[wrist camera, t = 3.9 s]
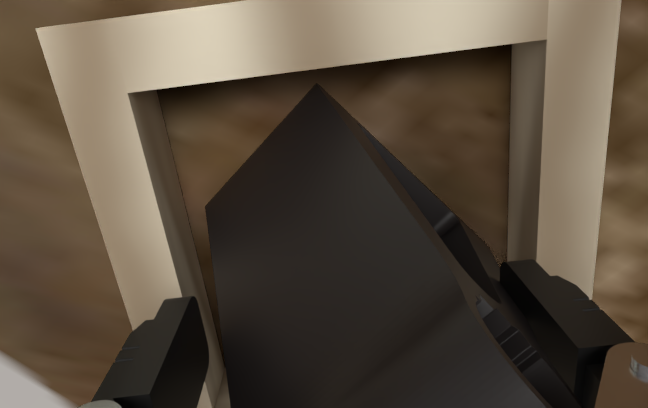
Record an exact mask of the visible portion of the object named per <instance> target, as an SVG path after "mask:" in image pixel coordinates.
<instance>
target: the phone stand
mask: <svg viewBox="0 0 648 408" xmlns="http://www.w3.org/2000/svg"><path fill="white" fill-rule="evenodd" d="M205 209H206V217H207V225H208V233H209V241H210V248H211V256H212V264H213V272H214V280H215V288H216V296H217V304H218V312H219V320H220V327H221V335H222V343H223V351H224V359H225V367H226V375H227V383H228V391H229V399H230V406H231V408H584V406H583V405H582V404H581V402H580V401H579V400H578V398H577V397H576V396H575V394H574V393H573V392H572V390H571V389H570V388H569V386H568V385H567V384H566V382H565V381H564V380H563V378H562V377H561V375H560V374H559V373H558V371H557V370H556V368H555V367H554V365H553V364H552V363H551V361H550V360H549V358H548V357H547V355H546V354H545V352H544V350H543V349H542V347H541V346H540V344H539V342H538V340H537V339H536V337H535V335H534V333H533V331H532V329H531V327H530V325H529V323H528V321H527V319H526V318H525V316H524V315H523V313H522V312H521V310H520V309H519V308H518V306H517V305H516V304H515V302H514V301H513V299H512V298H511V297H510V295H509V294H508V293H507V291H506V290H505V288H504V287H503V286H502V284H501V283H500V268H499V266H498V264H497V262H496V260H495V258H494V256H493V254H492V252H491V250H490V249H489V247H488V246H487V245H486V244H485V242H484V241H483V240H482V239H481V238H480V237H479V236H478V235H476V234H475V233H474V232H473V231H472V230H471V229H470V228H469V227H468V226H467V225H466V224H465V223H464V222H463V221H462V220H461V219H460V218H459V217H458V216H457V215H455V214H454V213H453V212H452V211H451V210H450V209H449V208H448V207H447V206H446V205H445V204H444V203H443V202H442V201H441V200H440V199H439V198H438V197H437V196H436V195H434V194H433V193H432V192H431V191H430V190H429V189H428V188H427V187H426V186H425V185H424V184H423V183H422V182H421V181H420V180H419V179H418V178H417V177H416V176H414V175H413V174H412V173H411V172H410V171H409V170H408V169H407V168H406V167H405V166H404V165H403V164H402V163H401V162H400V161H399V160H398V159H397V158H396V157H395V156H393V155H392V154H391V153H390V152H389V151H388V150H387V149H386V148H385V147H384V146H383V145H382V144H381V143H380V142H379V141H378V140H377V139H376V138H375V137H374V136H372V135H371V134H370V133H369V132H368V131H367V130H366V129H365V128H364V127H363V126H362V125H361V124H360V123H359V122H358V121H357V120H356V119H355V118H354V117H352V116H351V115H350V114H349V113H348V112H347V111H346V110H345V109H344V108H343V107H342V106H341V105H340V104H339V103H338V102H337V101H336V100H335V99H334V98H333V97H331V96H330V95H329V94H328V93H327V92H326V91H325V90H324V89H323V88H322V87H321V86H320V85H318V84H317V83H316V84H315V85H314V87H313V88H312V89H311V90H310V91H309V92H308V93H307V94H306V95H305V97H304V98H303V99H302V100H301V101H300V102H299V103H298V104H297V105H296V106H295V108H294V109H293V110H292V111H291V112H290V113H289V114H288V115H287V116H286V118H285V119H284V120H283V121H282V122H281V123H280V124H279V125H278V126H277V127H276V129H275V130H274V131H273V132H272V133H271V134H270V135H269V136H268V137H267V139H266V140H265V141H264V142H263V143H262V144H261V145H260V146H259V147H258V148H257V150H256V151H255V152H254V153H253V154H252V155H251V156H250V157H249V158H248V160H247V161H246V162H245V163H244V164H243V165H242V166H241V167H240V168H239V169H238V171H237V172H236V173H235V174H234V175H233V176H232V177H231V178H230V179H229V181H228V182H227V183H226V184H225V185H224V186H223V187H222V188H221V189H220V190H219V192H218V193H217V194H216V195H215V196H214V197H213V198H212V199H211V200H210V202H209V203H208V204H207V205H206V206H205Z"/></svg>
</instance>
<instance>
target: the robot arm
mask: <svg viewBox="0 0 648 408" xmlns="http://www.w3.org/2000/svg"><path fill="white" fill-rule="evenodd" d="M500 283H501V284H502V286H503V287H504V288H505V290H506V291H507V293H508V294H509V295H510V297H511V298H512V299H513V301H514V302H515V304H516V305H517V306H518V308H519V309H520V310H521V312H522V313H523V315H524V316H525V318H526V319H527V321H528V323H529V325H530V327H531V329H532V331H533V333H534V335H535V337H536V339H537V340H538V342H539V344H540V346H541V347H542V349H543V350H544V352H545V354H546V355H547V357H548V358H549V360H550V361H551V363H552V364H553V365H554V367H555V368H556V370H557V371H558V373H559V374H560V375H561V377H562V378H563V380H564V381H565V382H566V384H567V385H568V386H569V388H570V389H571V390H572V392H573V393H574V394H575V396H576V397H577V398H578V400H579V401H580V402H581V404H582V405H583V406H584V408H648V344H644V343H637V342H634V341H633V340H632V339H631V338H630V337H629V336H628V335H627V334H626V333H625V332H624V331H623V330H622V329H621V328H620V327H619V326H618V325H617V324H616V323H615V322H614V321H613V320H612V319H611V318H610V317H609V316H608V315H607V314H606V313H605V312H604V311H603V310H600V309H599V307H598V306H597V305H596V304H595V303H594V302H593V301H592V300H589V297H588V296H587V295H586V294H585V293H584V292H583V291H582V290H581V289H580V288H579V287H578V286H577V285H575V284H573V283H571V282H569V281H567V280H565V279H563V278H561V277H559V276H557V275H556V276H550V275H549V274H548V273H547V272H546V271H545V270H544V269H543V268H542V267H541V266H540V265H539V264H538V263H537V262H536V261H535V260H533V259H527V260H518V261H509V262H503V263H502V264H501V267H500ZM208 366H209V348H208V342H207V338H206V334H205V330H204V325H203V321H202V317H201V313H200V309H199V305H198V301H197V299H196V297H195V296H188V297H179V298H170V299H165V300H164V301H163V303H162V305H161V307H160V308H159V310H158V312H157V314H156V316H155V318H154V319H153V320H145V321H144V322H143V323H142V324H141V325H139V326H138V327H137V328H136V329H135V330H134V331H133V332H131V333H130V335H129V337H128V338H127V340H126V342H125V344H124V345H123V347H122V351H120V352H119V354H118V356H117V358H116V359H115V363H113V365H112V366H111V368H110V370H109V371H108V373H107V375H106V377H105V378H104V380H103V382H102V384H101V385H100V387H99V389H98V391H97V392H96V394H95V396H94V398H93V399H92V401H91V402H89V403H87V404H84V405H82V406H79V407H77V408H197V406H198V402H199V399H200V395H201V392H202V388H203V385H204V381H205V378H206V374H207V371H208Z"/></svg>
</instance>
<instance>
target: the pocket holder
mask: <svg viewBox="0 0 648 408" xmlns="http://www.w3.org/2000/svg"><path fill="white" fill-rule="evenodd" d="M620 10H621V0H247V1H239V2H231V3H224V4H216V5H209V6H201V7H194V8H186V9H179V10H171V11H163V12H156V13H148V14H141V15H133V16H126V17H118V18H110V19H103V20H95V21H88V22H80V23H73V24H65V25H57V26H50V27H42V28H36V31H37V34H38V37H39V40H40V44H41V47H42V50H43V53H44V56H45V59H46V62H47V65H48V68H49V72H50V75H51V78H52V81H53V84H54V87H55V90H56V93H57V96H58V99H59V103H60V106H61V109H62V112H63V115H64V118H65V121H66V124H67V127H68V130H69V134H70V137H71V140H72V143H73V146H74V149H75V152H76V155H77V158H78V161H79V165H80V168H81V171H82V174H83V177H84V180H85V183H86V186H87V189H88V192H89V196H90V199H91V202H92V205H93V208H94V211H95V214H96V217H97V220H98V224H99V227H100V230H101V233H102V236H103V239H104V242H105V245H106V248H107V251H108V255H109V258H110V261H111V264H112V267H113V270H114V273H115V276H116V279H117V282H118V286H119V289H120V292H121V295H122V298H123V301H124V304H125V307H126V310H127V313H128V317H129V320H130V323H131V326H132V329H133V331H134V330H135V329H136V328H137V327H138V326H139V325H141V324H142V323H143V322H144V321H145V320H153V319H154V318H155V316H156V314H157V312H158V310H159V308H160V307H161V305H162V303H163V301H164V300H165V299H170V298H179V297H188V296H195V297H196V299H197V301H198V305H199V309H200V313H201V317H202V321H203V325H204V330H205V334H206V338H207V342H208V348H209V366H208V371H207V374H206V378H205V381H204V385H203V388H202V392H201V395H200V399H199V402H198V406H197V408H231V406H230V399H229V391H228V383H227V375H226V368H225V366H224V362H223V358H222V354H221V350H220V346H219V342H218V338H217V334H216V330H215V326H214V322H213V318H212V313H211V309H210V305H209V301H208V297H207V293H206V289H205V285H204V281H203V277H202V273H201V269H200V265H199V261H198V257H197V252H196V248H195V244H194V240H193V236H192V232H191V228H190V224H189V220H188V216H187V212H186V208H185V204H184V200H183V196H182V191H181V187H180V183H179V179H178V175H177V171H176V167H175V163H174V159H173V155H172V151H171V147H170V143H169V139H168V135H167V130H166V126H165V122H164V118H163V114H162V110H161V106H160V102H159V98H158V94H157V90H156V89H164V88H172V87H179V86H187V85H195V84H203V83H211V82H218V81H226V80H234V79H242V78H250V77H257V76H265V75H273V74H281V73H289V72H296V71H304V70H312V69H320V68H327V67H335V66H343V65H351V64H359V63H366V62H374V61H382V60H390V59H398V58H405V57H413V56H421V55H429V54H437V53H444V52H452V51H460V50H468V49H476V48H483V47H491V46H499V45H507V44H512V56H511V102H510V148H509V194H508V240H507V262H509V261H518V260H527V259H533V260H535V261H536V262H537V263H538V264H539V265H540V266H541V267H542V268H543V269H544V270H545V271H546V272H547V273H548V274H549V275H550V276H556V275H557V276H559V277H561V278H563V279H565V280H567V281H569V282H571V283H573V284H575V285H577V286H578V287H579V288H580V289H581V290H582V291H583V292H584V293H585V294H586V295H587V296H588V297H589V300H592V294H593V284H594V273H595V263H596V253H597V243H598V233H599V223H600V213H601V202H602V192H603V182H604V172H605V162H606V152H607V142H608V132H609V121H610V111H611V101H612V91H613V81H614V71H615V61H616V50H617V40H618V30H619V20H620Z"/></svg>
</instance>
